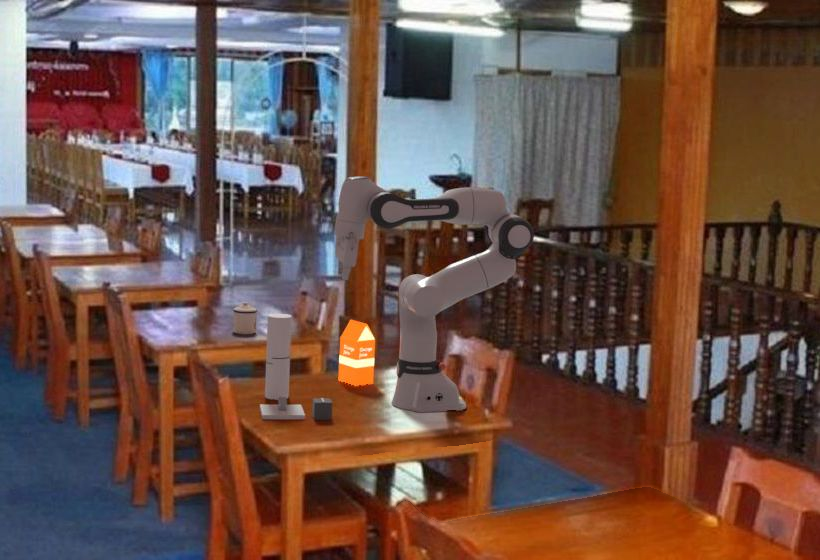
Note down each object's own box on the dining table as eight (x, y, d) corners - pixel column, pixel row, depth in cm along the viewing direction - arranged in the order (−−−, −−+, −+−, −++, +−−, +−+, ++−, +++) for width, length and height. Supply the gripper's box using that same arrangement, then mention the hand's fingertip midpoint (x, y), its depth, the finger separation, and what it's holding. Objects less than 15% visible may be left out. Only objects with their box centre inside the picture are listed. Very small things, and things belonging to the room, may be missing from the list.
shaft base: (300, 408, 353) (301, 392, 352) (305, 419, 341) (305, 403, 340) (259, 408, 350) (260, 392, 350) (262, 419, 339) (262, 403, 338)
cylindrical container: (284, 400, 361) (287, 318, 357) (261, 398, 362) (264, 316, 359) (291, 395, 368) (294, 314, 364) (269, 393, 369) (272, 312, 366)
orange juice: (354, 386, 384) (357, 324, 381) (337, 380, 390) (340, 320, 387) (373, 383, 389) (376, 322, 386) (356, 378, 395) (359, 318, 393)
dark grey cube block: (329, 415, 347) (330, 397, 346) (331, 419, 342) (332, 401, 341) (312, 415, 346) (312, 397, 345) (313, 419, 341) (314, 401, 340)
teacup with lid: (259, 334, 461) (260, 304, 459) (237, 335, 457) (238, 304, 455) (249, 328, 471) (250, 298, 470) (227, 329, 467) (228, 299, 466)
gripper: (365, 236, 342) (358, 284, 344) (355, 228, 362) (348, 273, 364) (343, 233, 341) (336, 281, 343) (334, 225, 361) (328, 270, 363)
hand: (342, 277), depth 354 cm, fingers open, 8 cm apart
